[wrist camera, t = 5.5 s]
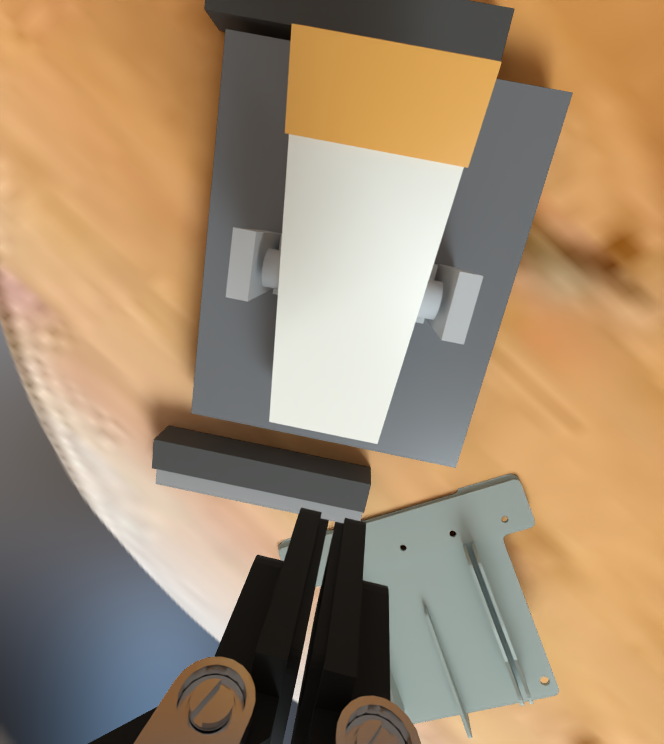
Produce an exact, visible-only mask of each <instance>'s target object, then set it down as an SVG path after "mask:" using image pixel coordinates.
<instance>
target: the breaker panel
mask: <svg viewBox="0 0 664 744" xmlns="http://www.w3.org/2000/svg"><path fill="white" fill-rule="evenodd" d="M290 42H291V41H289V40H283V39H278V38H272V37H267V36H261V35H256V34H250V33H245V32H240V31H234V30H229V29H226V30H225V41H224V52H223V63H222V75H221V86H220V97H219V108H218V119H217V131H216V142H215V153H214V164H213V175H212V187H211V198H210V209H209V220H208V231H207V242H206V254H205V265H204V276H203V287H202V298H201V310H200V321H199V332H198V343H197V354H196V366H195V377H194V388H193V399H192V410H191V413H193V414H197V415H202V416H207V417H212V418H217V419H222V420H226V421H231V422H236V423H241V424H246V425H251V426H256V427H260V428H265V429H270V430H275V431H280V432H285V433H289V434H294V435H299V436H304V437H309V438H314V439H319V440H323V441H328V442H333V443H338V444H343V445H348V446H353V447H357V448H362V449H367V450H372V451H377V452H382V453H386V454H391V455H396V456H401V457H406V458H411V459H416V460H420V461H425V462H430V463H435V464H440V465H445V466H449V467H454V468H456V465H457V462H458V459H459V456H460V453H461V449H462V446H463V443H464V440H465V437H466V433H467V430H468V427H469V424H470V421H471V417H472V414H473V411H474V408H475V404H476V401H477V398H478V395H479V392H480V388H481V385H482V382H483V379H484V376H485V372H486V369H487V366H488V363H489V360H490V356H491V353H492V350H493V347H494V344H495V340H496V337H497V334H498V331H499V328H500V324H501V321H502V318H503V315H504V312H505V308H506V305H507V302H508V299H509V296H510V292H511V289H512V286H513V283H514V279H515V276H516V273H517V270H518V267H519V263H520V260H521V257H522V254H523V251H524V247H525V244H526V241H527V238H528V235H529V231H530V228H531V225H532V222H533V219H534V215H535V212H536V209H537V206H538V203H539V199H540V196H541V193H542V190H543V187H544V183H545V180H546V177H547V174H548V170H549V167H550V164H551V161H552V158H553V154H554V151H555V148H556V145H557V142H558V138H559V135H560V132H561V129H562V126H563V122H564V119H565V116H566V113H567V110H568V106H569V103H570V100H571V97H572V94H573V93H572V92H566V91H561V90H555V89H550V88H544V87H539V86H533V85H528V84H523V83H517V82H512V81H506V80H501V79H496V82H495V85H494V88H493V91H492V94H491V97H490V101H489V104H488V107H487V110H486V113H485V116H484V119H483V123H482V126H481V129H480V132H479V135H478V138H477V141H476V145H475V148H474V151H473V154H472V157H471V160H470V163H469V167H468V168H466V167H464V168H463V172H462V175H461V178H460V181H459V184H458V188H457V191H456V194H455V197H454V200H453V204H452V207H451V210H450V213H449V216H448V220H447V223H446V226H445V229H444V232H443V236H442V239H441V242H440V245H439V248H438V252H437V255H436V258H435V261H434V264H433V268H432V271H431V274H430V277H429V279H430V280H435V281H440V282H443V294H442V299H441V303H440V307H439V310H438V313H437V315H436V317H435V319H434V320H431V319H426V318H421V317H417V319H416V322H415V325H414V329H413V332H412V335H411V338H410V341H409V345H408V348H407V351H406V354H405V357H404V361H403V364H402V367H401V370H400V373H399V377H398V380H397V383H396V386H395V389H394V393H393V396H392V399H391V402H390V405H389V409H388V412H387V415H386V418H385V421H384V425H383V428H382V431H381V434H380V437H379V441H378V444H374V443H370V442H365V441H360V440H355V439H350V438H345V437H340V436H336V435H331V434H326V433H321V432H316V431H311V430H306V429H302V428H297V427H292V426H287V425H282V424H277V423H272V422H269V417H270V402H271V388H272V373H273V359H274V344H275V330H276V315H277V301H278V289H274V288H269V287H264V286H263V285H262V266H263V261H264V257H265V254H266V251H267V250H268V248H272V249H277V250H281V243H282V228H283V213H284V199H285V184H286V170H287V155H288V141H289V134H286V133H285V121H286V105H287V90H288V74H289V58H290Z"/></svg>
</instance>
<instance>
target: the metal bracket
mask: <svg viewBox="0 0 664 744" xmlns="http://www.w3.org/2000/svg"><path fill="white" fill-rule="evenodd" d="M503 516H506V517H508V520H507V521H506V522H503V521H502V520H501V518H502V517H503ZM362 522H366V536H365V552H364V568H363V580H364V581H368V582H373V583H377V584H381V585H385V586H388V589H389V632H390V699H391V702H392V703H394V704H395V705H397V706H398V707H399V708H400V709H401V710H402V711H403V712H404V713H405V714H406V715H407V716H408V717H409V718H410V720H411V722H412V723H413V724H415V723H420V722H426V721H431V720H436V719H441V718H446V717H451V716H456V715H460V716H461V718H462V721H463V724H464V727H465V730H466V733H467V735H468V738H472V733H471V728H470V723H469V717H468V713H471V712H476V711H481V710H486V709H491V708H496V707H501V706H506V705H511V704H516V703H520V705H521V706H523V705H524V702H526V701H529V702H530V704H533V700H536V699H541V698H546V697H551V696H555V695H557V694H558V692H559V688H558V685H557V683H556V680H555V677H554V675H553V672H552V669H551V667H550V664H549V661H548V659H547V656H546V653H545V651H544V648H543V645H542V643H541V640H540V637H539V635H538V632H537V629H536V627H535V624H534V621H533V619H532V616H531V613H530V611H529V608H528V605H527V603H526V600H525V597H524V595H523V592H522V589H521V587H520V584H519V581H518V579H517V576H516V573H515V571H514V568H513V565H512V563H511V560H510V557H509V555H508V552H507V549H506V547H505V544H504V539H503V538H504V537H505V535H507V534H510V533H513V532H517V531H521V530H524V529H528V528H531V527H533V526H534V523H535V519H534V517H533V514H532V511H531V509H530V506H529V503H528V501H527V498H526V495H525V493H524V490H523V488H522V485H521V483H520V481H519V479H518V477H517V476H516V475H513V474H507V475H504V476H500V477H497V478H493V479H490V480H487V481H483V482H480V483H477V484H473V485H470V486H466V487H463V488H460V489H458V491H457V492H456V493H454V494H452V495H448V496H445V497H441V498H438V499H435V500H431V501H428V502H425V503H421V504H418V505H415V506H411V507H408V508H405V509H401V510H398V511H394V512H391V513H388V514H384V515H381V516H378V517H374V518H371V519H368V520H364V521H362ZM451 531H455V532H456V535H455V536H451V535H450V534H449V533H450V532H451ZM332 535H333V530H327V531H326V536H325V541H324V546H323V551H322V556H321V561H320V566H319V571H318V576H317V581H316V586H321V584H322V580H323V575H324V571H325V566H326V562H327V557H328V553H329V548H330V544H331V539H332ZM290 540H291V538H290V539H287V540H284V541H283V542H282V543H281V544H280V545H279V555H280V558H281V561H284V559H285V556H286V553H287V549H288V546H289V543H290ZM401 545H405V546H406V549H405V550H402V549H401V548H400V546H401ZM316 586H315V587H316ZM543 676H545V677H548V678H549V681H548V682H547V683H542V682H540V678H541V677H543Z"/></svg>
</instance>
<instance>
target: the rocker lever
mask: <svg viewBox="0 0 664 744" xmlns="http://www.w3.org/2000/svg"><path fill="white" fill-rule="evenodd" d="M501 63H502V62H500V61H496V60H491V59H487V58H481V57H476V56H470V55H465V54H459V53H454V52H448V51H443V50H437V49H432V48H426V47H421V46H416V45H410V44H405V43H399V42H394V41H388V40H383V39H377V38H372V37H366V36H361V35H355V34H350V33H344V32H339V31H333V30H328V29H322V28H317V27H312V26H305V25H299V24H292V26H291V42H290V58H289V74H288V90H287V105H286V121H285V133H286V134H289V141H288V155H287V170H286V184H285V199H284V213H283V228H282V243H281V250H277V249H272V248H268V250H267V251H266V254H265V257H264V261H263V266H262V285H263V286H264V287H269V288H274V289H278V301H277V315H276V330H275V344H274V359H273V373H272V388H271V402H270V417H269V422H272V423H277V424H282V425H287V426H292V427H297V428H302V429H306V430H311V431H316V432H321V433H326V434H331V435H336V436H340V437H345V438H350V439H355V440H360V441H365V442H370V443H374V444H378V441H379V437H380V434H381V431H382V428H383V425H384V421H385V418H386V415H387V412H388V409H389V405H390V402H391V399H392V396H393V393H394V389H395V386H396V383H397V380H398V377H399V373H400V370H401V367H402V364H403V361H404V357H405V354H406V351H407V348H408V345H409V341H410V338H411V335H412V332H413V329H414V325H415V322H416V319H417V317H421V318H426V319H431V320H434V319H435V317H436V315H437V313H438V310H439V307H440V303H441V299H442V294H443V282H440V281H435V280H430V279H429V277H430V274H431V271H432V268H433V264H434V261H435V258H436V255H437V252H438V248H439V245H440V242H441V239H442V236H443V232H444V229H445V226H446V223H447V220H448V216H449V213H450V210H451V207H452V204H453V200H454V197H455V194H456V191H457V188H458V184H459V181H460V178H461V175H462V172H463V168H464V167H466V168H468V167H469V163H470V160H471V157H472V154H473V151H474V148H475V145H476V141H477V138H478V135H479V132H480V129H481V126H482V123H483V119H484V116H485V113H486V110H487V107H488V104H489V101H490V97H491V94H492V91H493V88H494V85H495V82H496V79H497V75H498V72H499V69H500V66H501Z"/></svg>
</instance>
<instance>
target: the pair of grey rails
mask: <svg viewBox="0 0 664 744" xmlns="http://www.w3.org/2000/svg"><path fill="white" fill-rule="evenodd" d="M205 11H206V12H207V13H208V15H209V16H210V18H211V19H212V20H213V22H214V23H215V25H216V26H217V28H218V29H219V30H220V31H225V30H226V29H229V30H234V31H240V32H245V33H250V34H256V35H261V36H267V37H272V38H278V39H283V40H289V41H291V26H292V24H299V25H305V26H312V27H317V28H322V29H328V30H333V31H339V32H344V33H350V34H355V35H361V36H366V37H372V38H377V39H383V40H388V41H394V42H399V43H405V44H410V45H416V46H421V47H426V48H432V49H437V50H443V51H448V52H454V53H459V54H465V55H470V56H476V57H481V58H487V59H491V60H496V61H500V62H501V59H502V55H503V51H504V47H505V43H506V40H507V36H508V32H509V28H510V24H511V20H512V17H513V13H514V9H513V8H508V7H502V6H497V5H491V4H485V3H480V2H474V1H469V0H205ZM152 468H154V469H157V473H156V484H159V485H164V486H168V487H173V488H178V489H183V490H187V491H192V492H197V493H202V494H206V495H211V496H216V497H221V498H225V499H230V500H235V501H240V502H244V503H249V504H254V505H259V506H263V507H268V508H273V509H278V510H282V511H287V512H292V513H297V514H299V512H300V509H301V507H302V508H306V509H310V510H315V511H319V512H322V514H321V518H322V519H327V520H330V521H335V522H339V523H344V519H345V518H349V519H353V520H358V521H361V517H362V513H364V510H365V506H366V502H367V498H368V494H369V490H370V486H371V468H370V467H365V466H361V465H356V464H351V463H346V462H341V461H336V460H332V459H327V458H322V457H317V456H312V455H308V454H303V453H298V452H293V451H288V450H283V449H279V448H274V447H269V446H264V445H259V444H254V443H250V442H245V441H240V440H235V439H230V438H225V437H221V436H216V435H211V434H206V433H201V432H197V431H192V430H187V429H182V428H177V427H172V426H168V427H167V428H166V429H165V430H163V431H162V432H161V433H160V434H159V435H158V436H157V437H156V438H155V439H154V444H153V460H152Z"/></svg>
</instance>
